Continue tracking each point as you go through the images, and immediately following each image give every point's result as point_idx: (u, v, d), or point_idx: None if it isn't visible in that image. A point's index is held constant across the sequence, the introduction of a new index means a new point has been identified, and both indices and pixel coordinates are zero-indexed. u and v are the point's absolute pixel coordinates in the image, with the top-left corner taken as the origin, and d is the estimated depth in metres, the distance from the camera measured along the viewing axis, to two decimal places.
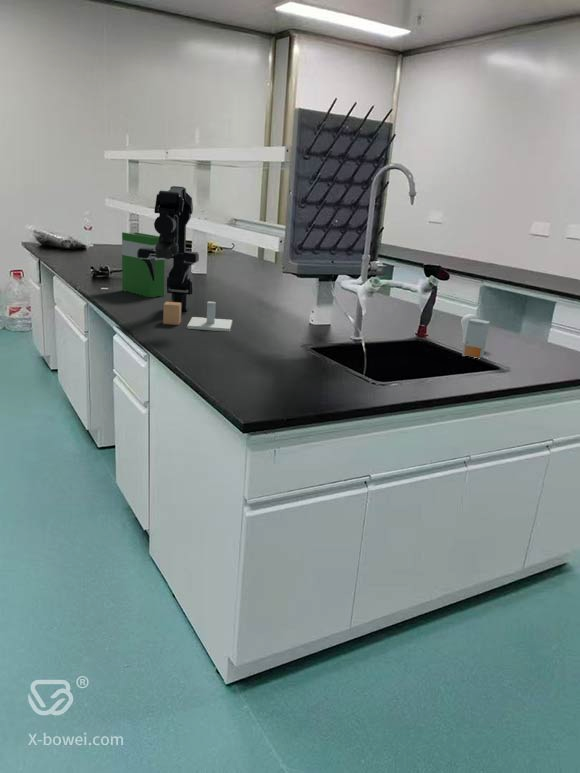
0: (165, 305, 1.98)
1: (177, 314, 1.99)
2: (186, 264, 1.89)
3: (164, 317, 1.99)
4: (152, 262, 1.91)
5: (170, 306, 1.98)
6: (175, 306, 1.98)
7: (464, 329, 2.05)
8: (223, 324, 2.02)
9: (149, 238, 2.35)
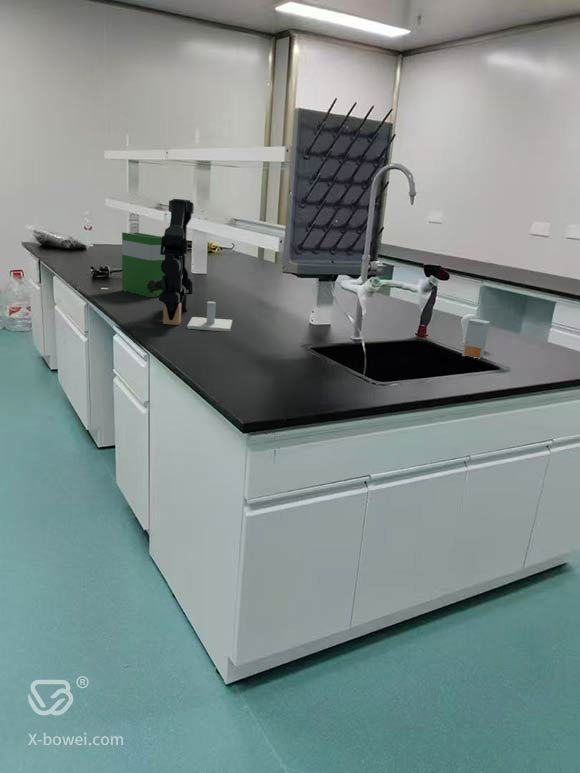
0: (165, 305, 1.98)
1: (177, 314, 1.99)
2: None
3: (164, 317, 1.99)
4: None
5: None
6: None
7: (464, 329, 2.05)
8: (223, 324, 2.02)
9: (149, 238, 2.35)
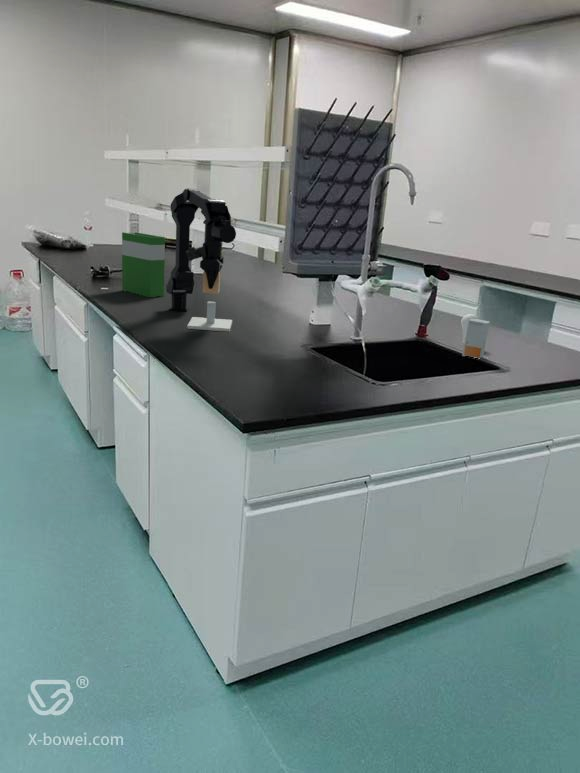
0: (205, 273, 1.95)
1: (217, 283, 1.96)
2: None
3: (203, 286, 1.96)
4: None
5: None
6: None
7: (464, 329, 2.05)
8: (223, 324, 2.02)
9: (149, 238, 2.35)
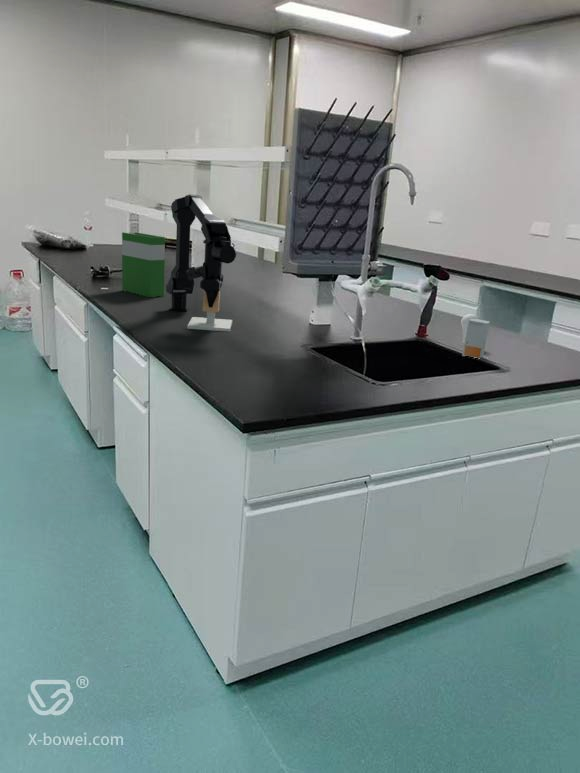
0: (205, 292, 1.97)
1: (217, 301, 1.98)
2: None
3: (203, 304, 1.98)
4: None
5: None
6: None
7: (464, 329, 2.05)
8: (223, 324, 2.02)
9: (149, 238, 2.35)
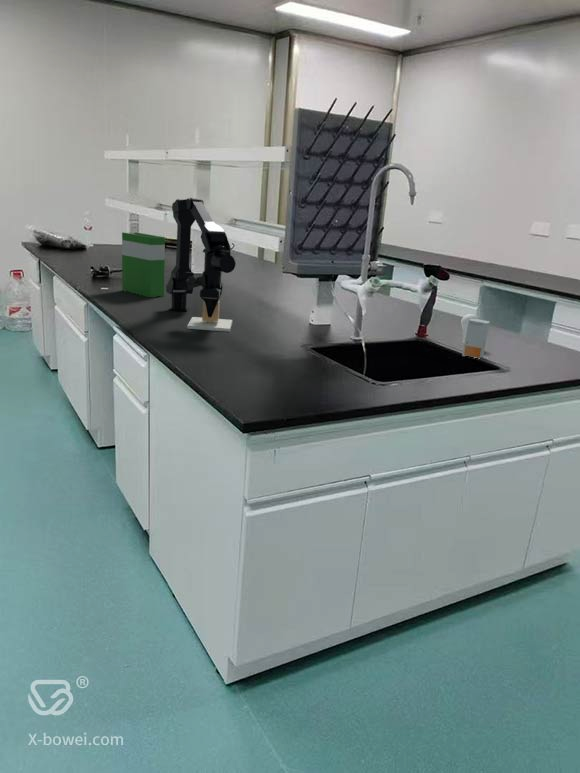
0: (204, 302, 1.98)
1: (216, 311, 1.99)
2: None
3: (203, 314, 1.99)
4: None
5: None
6: None
7: (464, 329, 2.05)
8: (223, 324, 2.02)
9: (149, 238, 2.35)
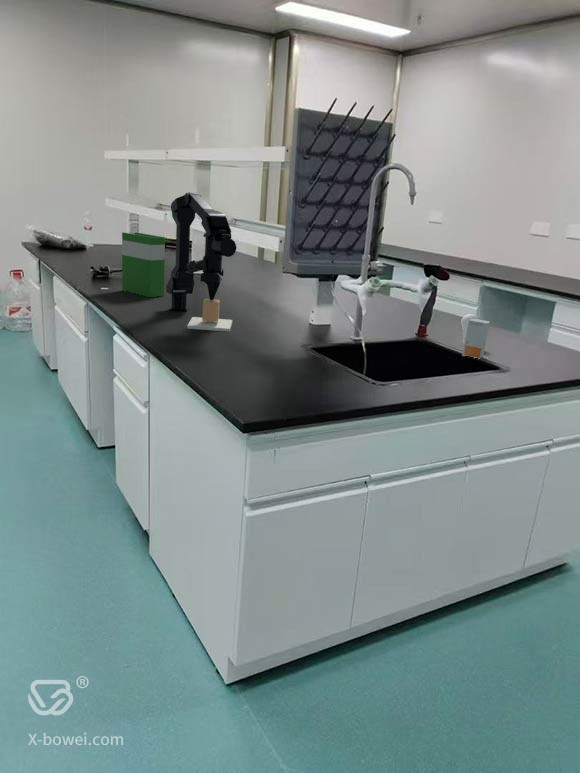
0: (204, 302, 1.98)
1: (216, 311, 1.99)
2: None
3: (203, 314, 1.99)
4: None
5: (209, 303, 1.98)
6: (214, 303, 1.99)
7: (464, 329, 2.05)
8: (223, 324, 2.02)
9: (149, 238, 2.35)
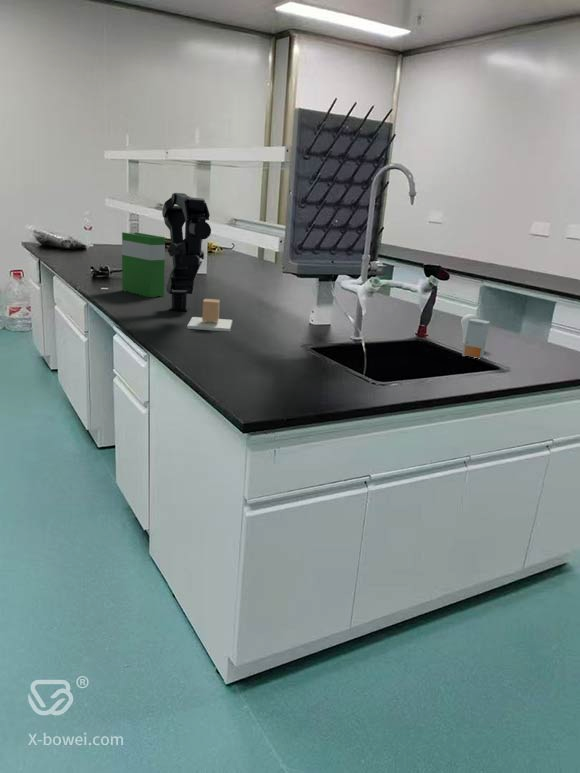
0: (204, 302, 1.98)
1: (216, 311, 1.99)
2: None
3: (203, 314, 1.99)
4: None
5: (209, 303, 1.98)
6: (214, 303, 1.99)
7: (464, 329, 2.05)
8: (223, 324, 2.02)
9: (149, 238, 2.35)
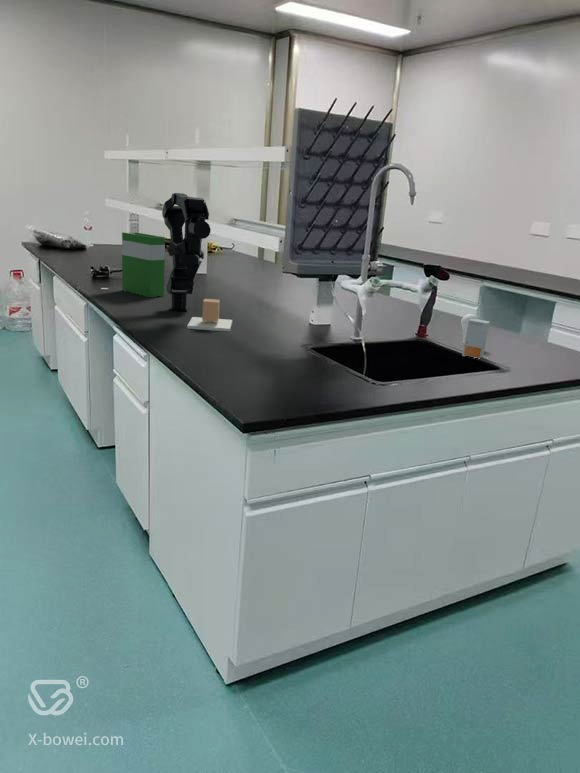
0: (204, 302, 1.98)
1: (216, 311, 1.99)
2: None
3: (203, 314, 1.99)
4: None
5: (209, 303, 1.98)
6: (214, 303, 1.99)
7: (464, 329, 2.05)
8: (223, 324, 2.02)
9: (149, 238, 2.35)
